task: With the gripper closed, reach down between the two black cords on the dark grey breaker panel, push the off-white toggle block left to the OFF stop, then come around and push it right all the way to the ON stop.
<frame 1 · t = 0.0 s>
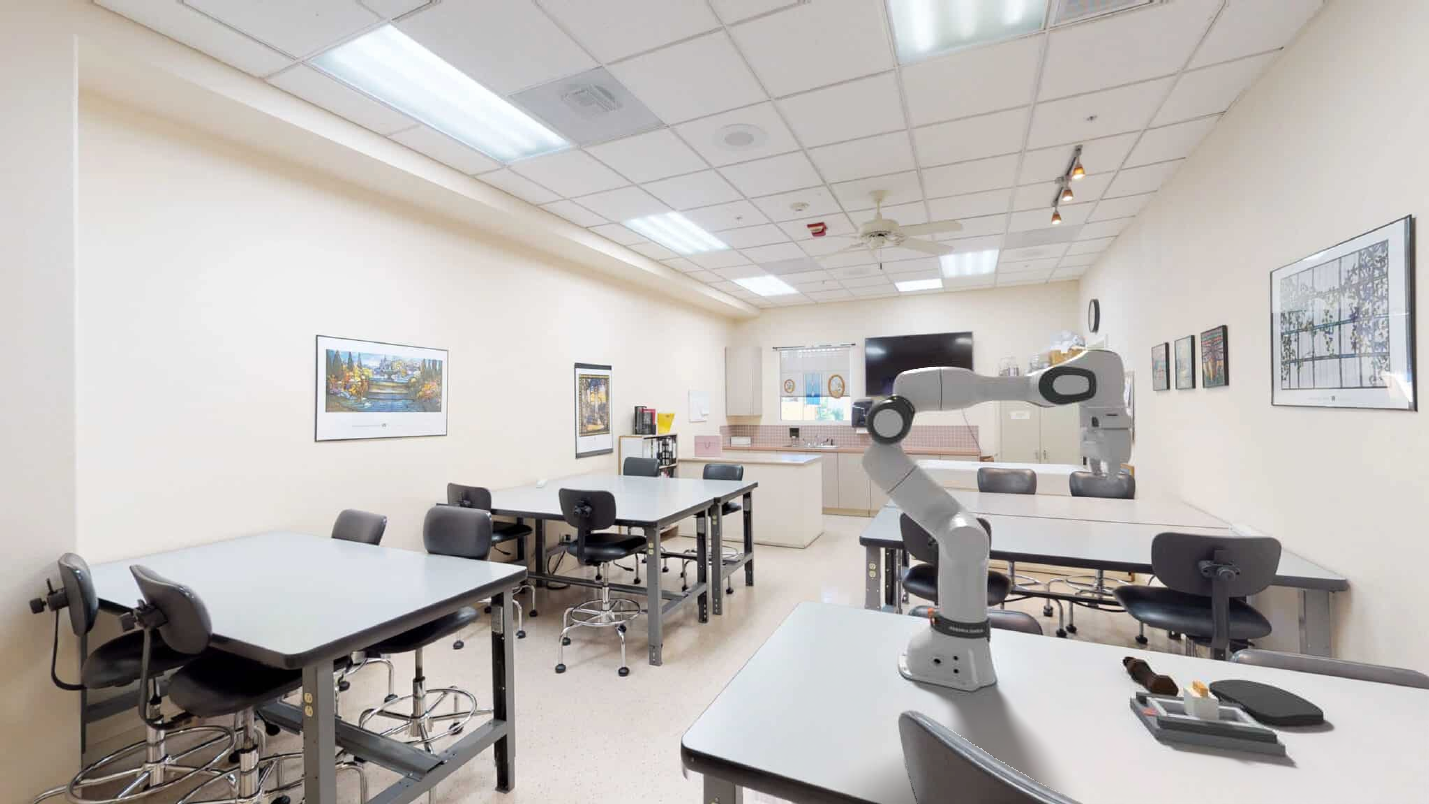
hand: (1104, 480, 127), 48 cm above the table, fingers open, 8 cm apart
panel: (1201, 729, 110), on the table
toggle: (1200, 701, 110), point 6 cm above the table, slide at 0.0 cm
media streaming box: (1263, 709, 118), on the table
dark brown lumpy rod: (1147, 685, 129), on the table
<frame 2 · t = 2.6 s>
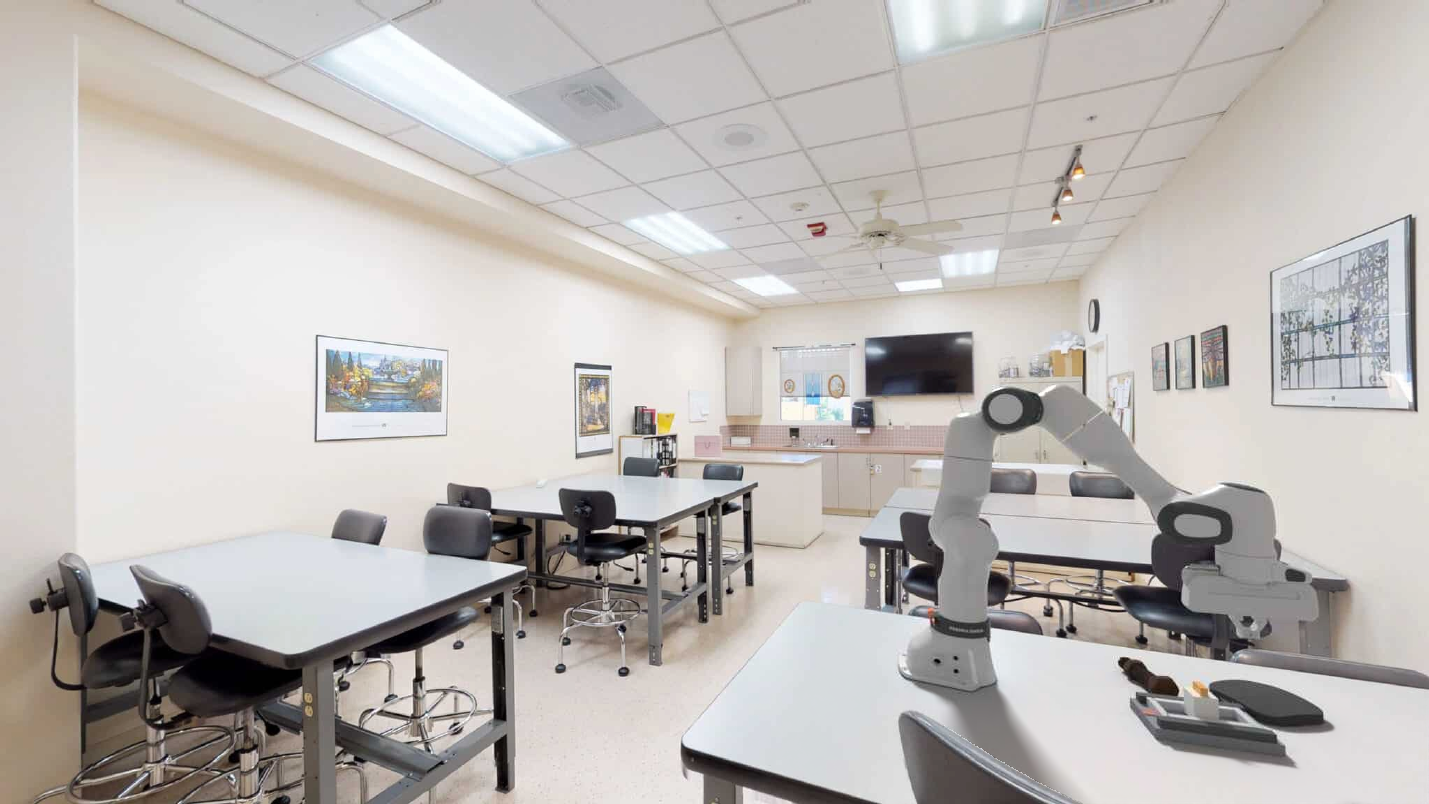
hand: (1248, 637, 108), 19 cm above the table, fingers closed
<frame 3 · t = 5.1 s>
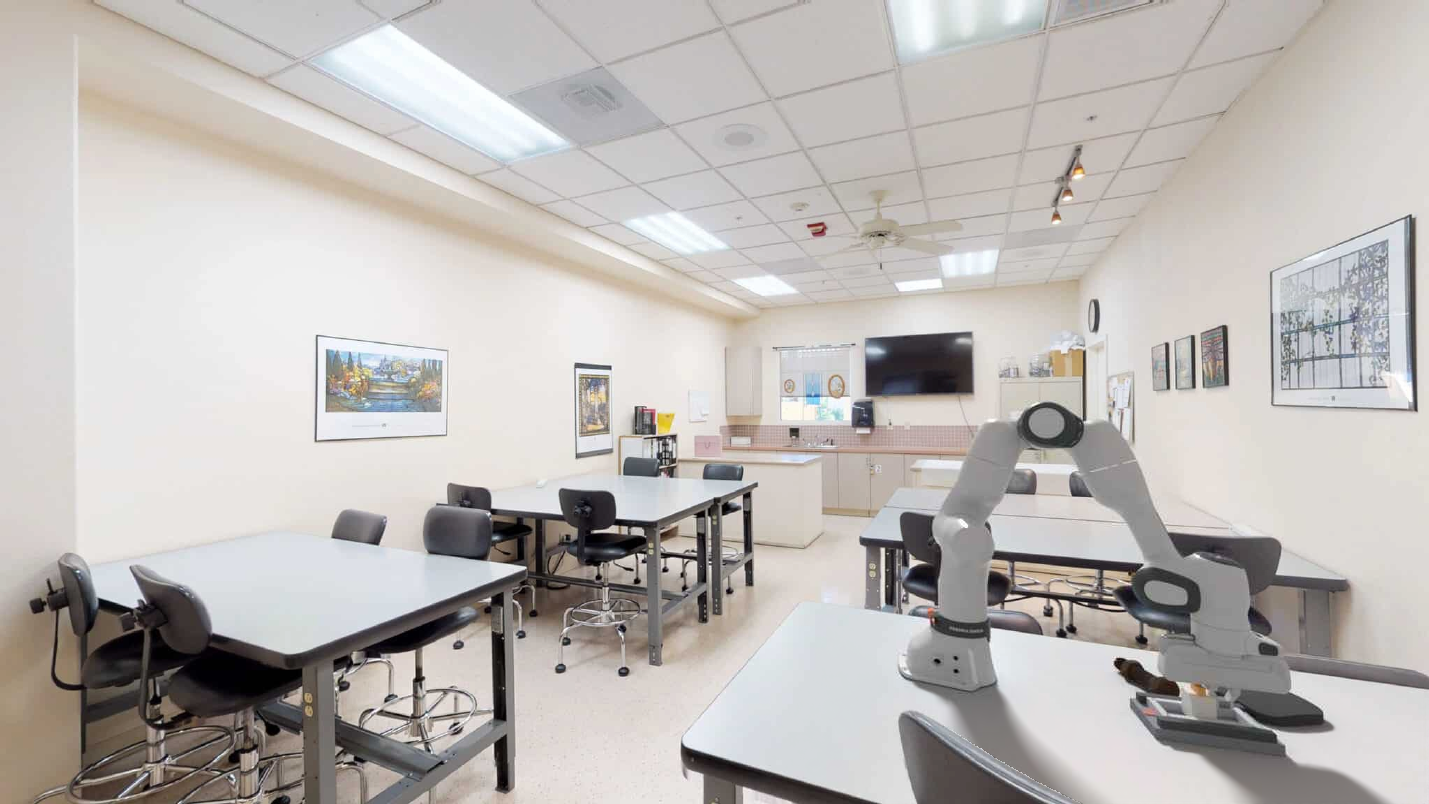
hand: (1222, 707, 109), 5 cm above the table, fingers closed
toggle: (1198, 701, 110), point 6 cm above the table, slide at -0.4 cm, touching gripper
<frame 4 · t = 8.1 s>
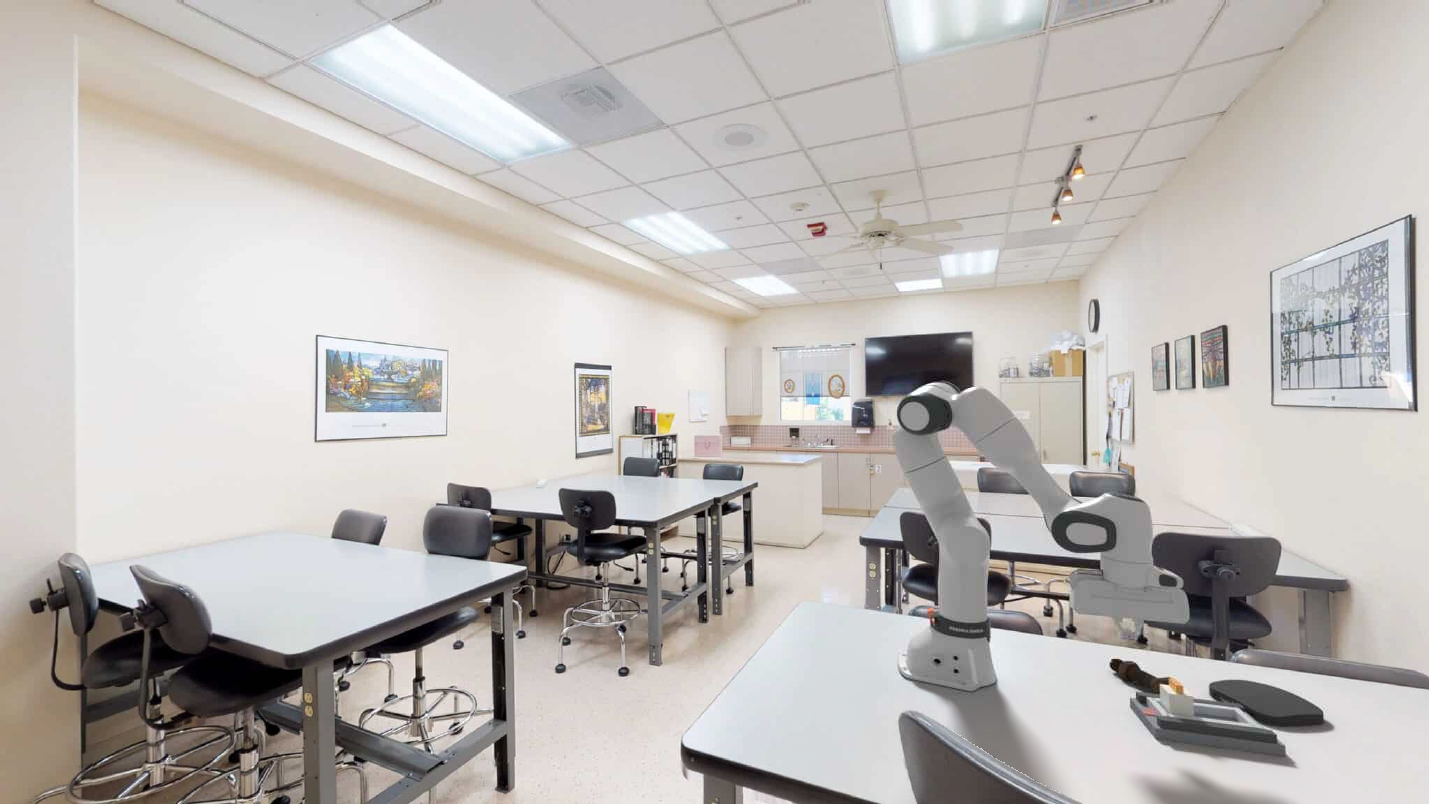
hand: (1127, 638, 114), 17 cm above the table, fingers closed
toggle: (1176, 698, 111), point 6 cm above the table, slide at -4.0 cm
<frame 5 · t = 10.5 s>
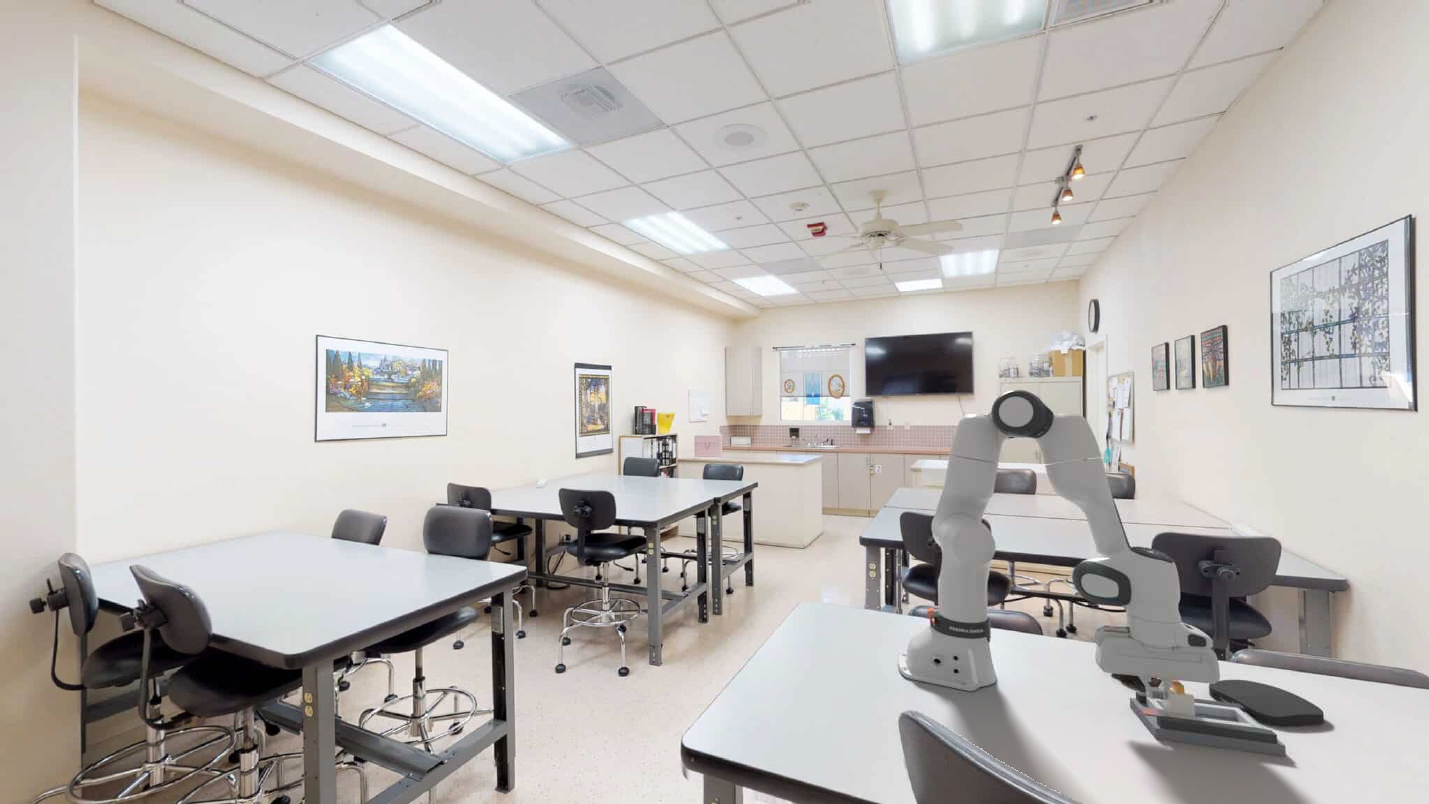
hand: (1156, 698, 112), 5 cm above the table, fingers closed
toggle: (1177, 698, 111), point 6 cm above the table, slide at -3.9 cm, touching gripper
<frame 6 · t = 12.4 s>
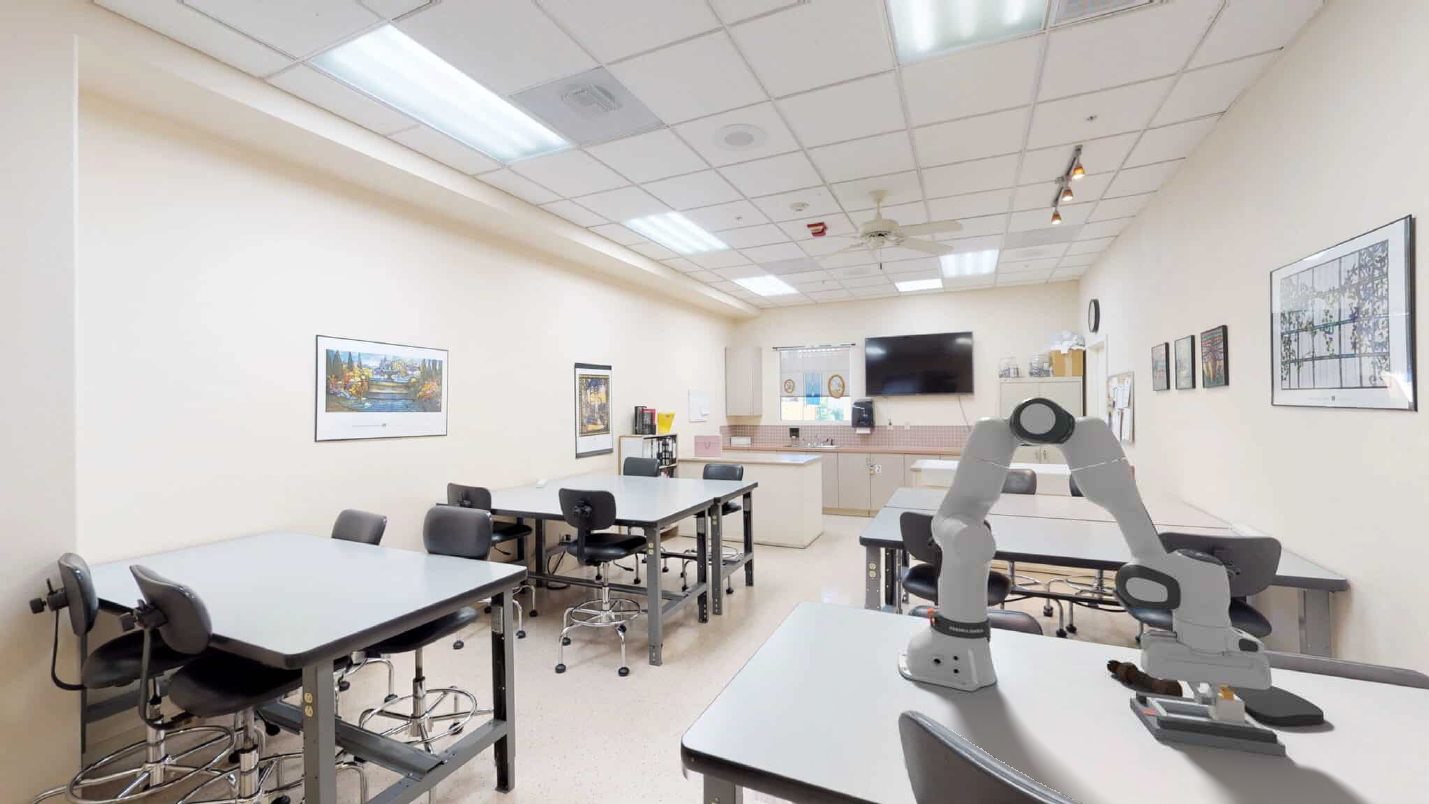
hand: (1204, 703, 110), 5 cm above the table, fingers closed
toggle: (1225, 704, 109), point 6 cm above the table, slide at 4.1 cm, touching gripper
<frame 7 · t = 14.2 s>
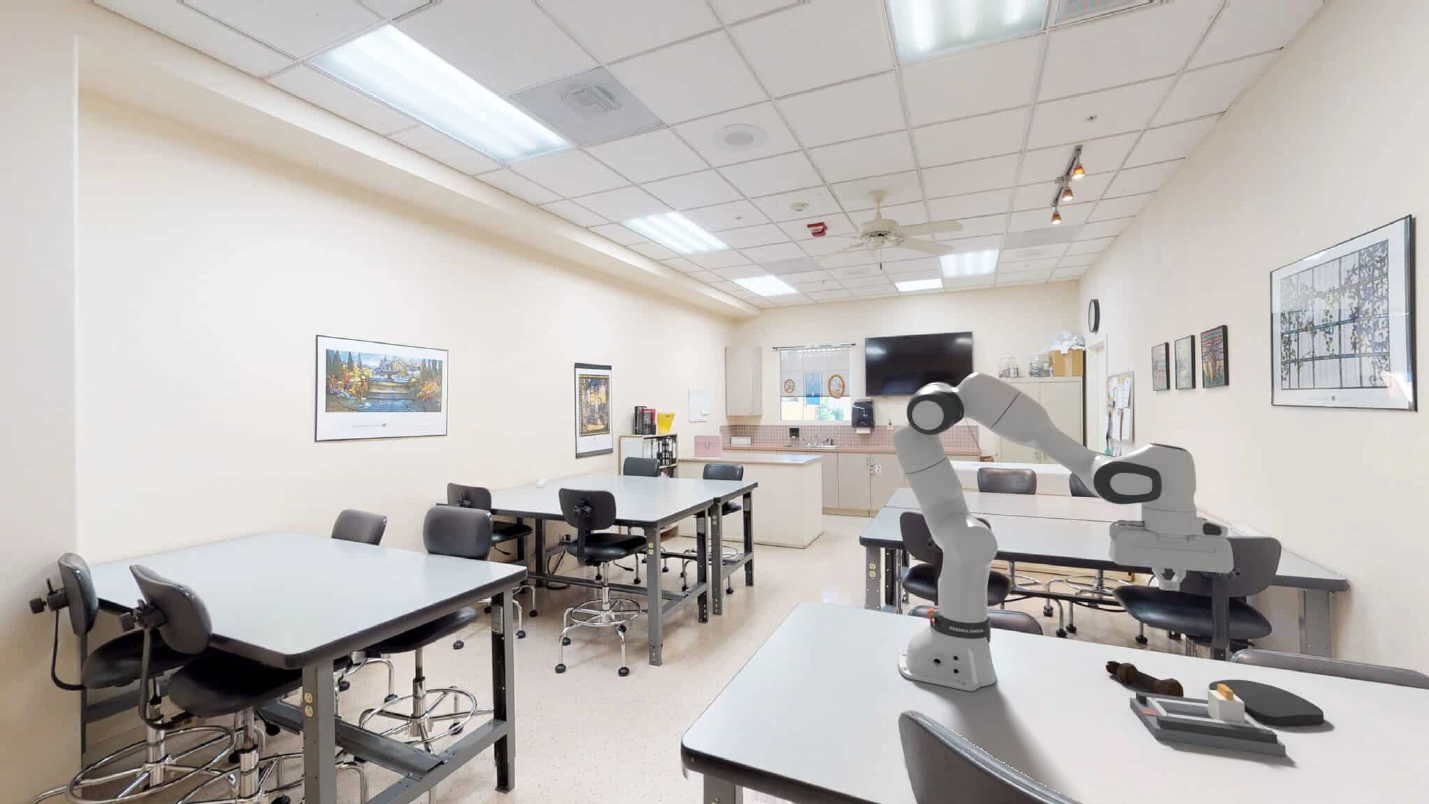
hand: (1168, 589, 114), 27 cm above the table, fingers closed
toggle: (1225, 704, 109), point 6 cm above the table, slide at 4.0 cm
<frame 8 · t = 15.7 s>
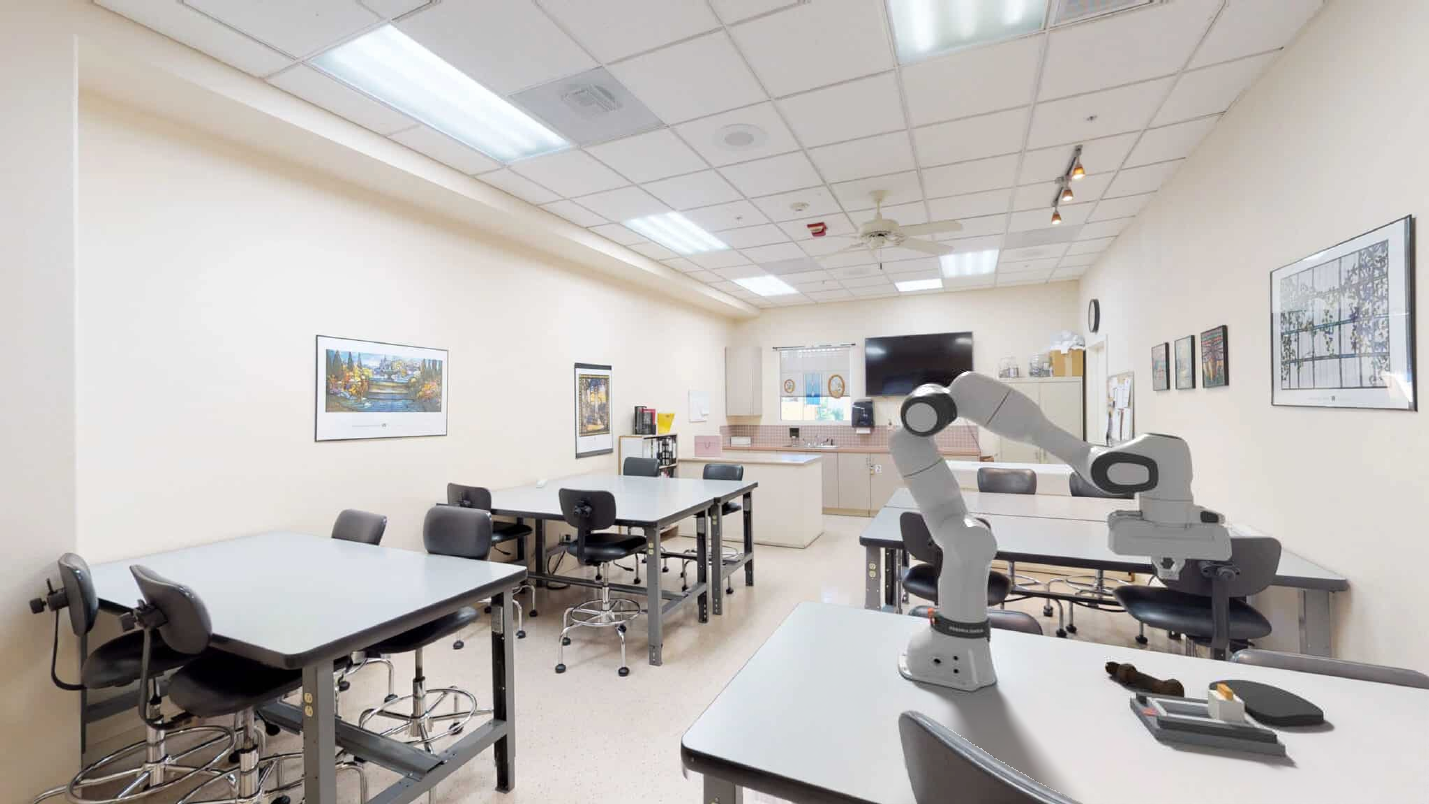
hand: (1168, 578, 114), 29 cm above the table, fingers closed
at the end: toggle slide at 4.0 cm; toggle touching nothing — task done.
